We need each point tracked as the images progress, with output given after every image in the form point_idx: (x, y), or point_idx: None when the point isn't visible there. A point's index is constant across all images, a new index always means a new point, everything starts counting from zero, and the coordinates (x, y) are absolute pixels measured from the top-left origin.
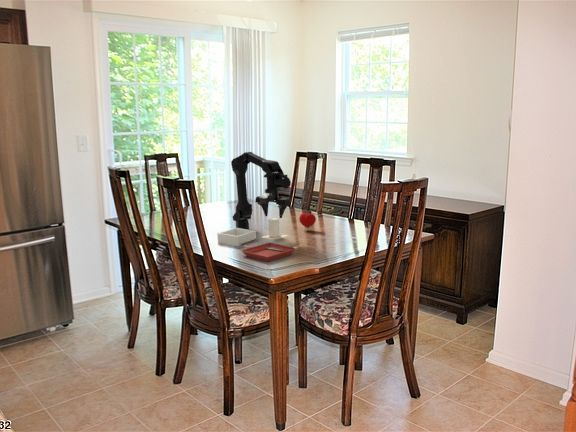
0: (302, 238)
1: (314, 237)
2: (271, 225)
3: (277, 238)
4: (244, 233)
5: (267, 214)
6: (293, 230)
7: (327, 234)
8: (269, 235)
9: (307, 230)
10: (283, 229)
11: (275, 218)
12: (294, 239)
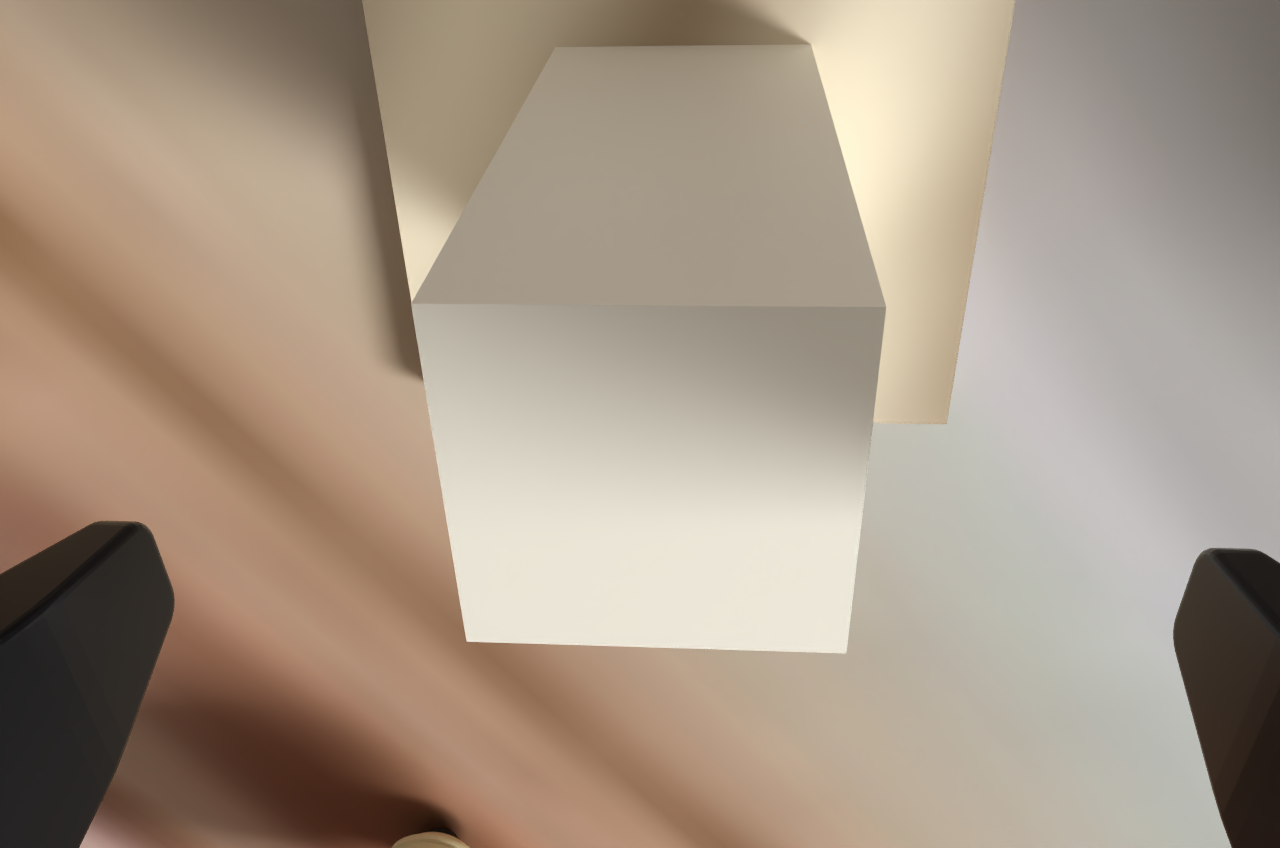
0: (116, 464)
1: None
2: (653, 181)
3: (420, 10)
4: None
5: (1194, 718)
6: (744, 823)
7: None
8: (779, 57)
9: (408, 845)
10: (976, 814)
11: (668, 630)
12: (171, 315)
